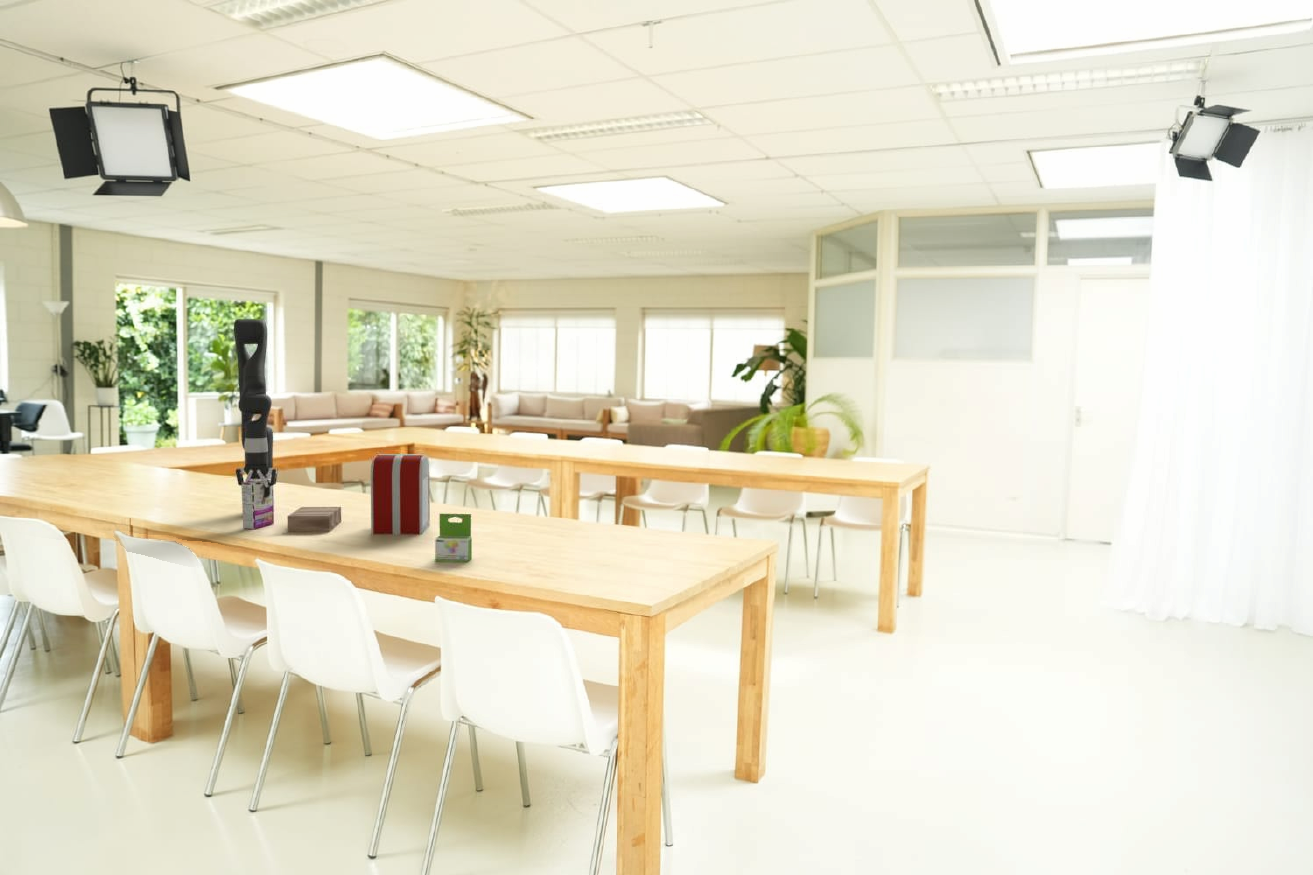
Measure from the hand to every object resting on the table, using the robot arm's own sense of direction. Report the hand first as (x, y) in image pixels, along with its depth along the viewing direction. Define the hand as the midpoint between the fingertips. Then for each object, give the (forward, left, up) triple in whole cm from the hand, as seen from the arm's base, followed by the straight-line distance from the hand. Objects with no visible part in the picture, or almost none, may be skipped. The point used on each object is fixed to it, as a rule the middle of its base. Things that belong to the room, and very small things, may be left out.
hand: (257, 497), depth 310 cm
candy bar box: (0, 0, -11) cm, 11 cm away
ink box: (+52, +75, -11) cm, 92 cm away
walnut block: (+1, +20, -11) cm, 23 cm away
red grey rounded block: (+6, +51, -11) cm, 52 cm away
